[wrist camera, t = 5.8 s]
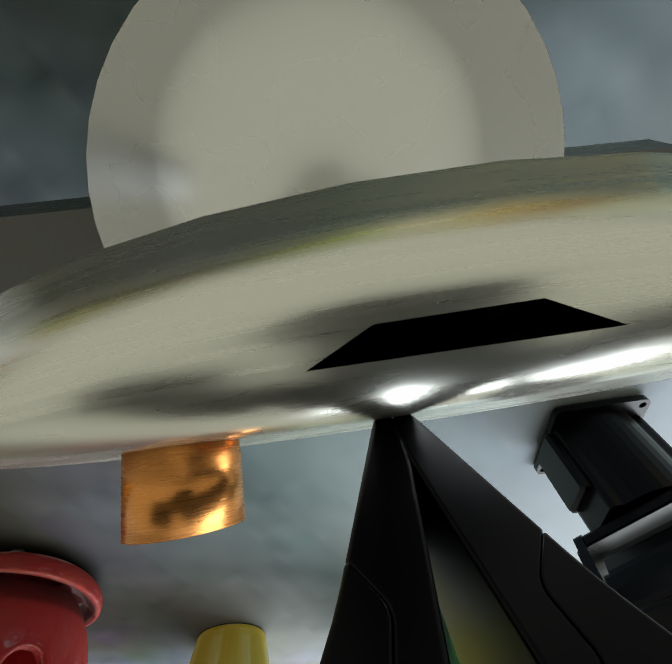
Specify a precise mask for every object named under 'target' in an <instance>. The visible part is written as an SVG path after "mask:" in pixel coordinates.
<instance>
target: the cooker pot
mask: <svg viewBox="0 0 672 664" xmlns="http://www.w3.org/2000/svg"><path fill="white" fill-rule="evenodd" d="M564 146H565V138H564V123H563V109H562V104H561V99H560V94H559V89H558V84H557V79H556V75H555V72H554V69H553V66H552V63H551V60H550V58H549V55H548V52H547V49H546V46H545V43H544V41H543V39H542V37H541V35H540V34H539V32H538V30H537V28H536V26H535V24H534V22H533V20H532V18H531V17H530V15H529V13H528V11H527V9H526V8H525V7H524V5H523V4H522V3H521V1H520V0H139V1H138V2H137V3H136V4H135V6H134V7H133V8H132V10H131V12H130V14H129V15H128V17H127V19H126V20H125V22H124V24H123V25H122V27H121V29H120V30H119V32H118V34H117V36H116V37H115V39H114V41H113V42H112V45H111V47H110V50H109V52H108V55H107V57H106V60H105V62H104V65H103V68H102V70H101V73H100V75H99V78H98V80H97V85H96V89H95V93H94V98H93V102H92V107H91V111H90V116H89V124H88V137H87V151H86V160H87V175H88V190H89V195H90V197H83V198H73V199H63V200H54V201H44V202H34V203H25V204H15V205H5V206H0V294H1V293H3V292H4V291H6V290H9V289H11V288H13V287H15V286H17V285H19V284H22V283H24V282H26V281H28V280H30V279H33V278H35V277H37V276H39V275H41V274H44V273H46V272H48V271H50V270H52V269H54V268H57V267H59V266H61V265H63V264H65V263H68V262H70V261H72V260H74V259H76V258H79V257H81V256H83V255H85V254H88V253H91V252H94V251H97V250H100V249H104V248H107V247H110V246H113V245H116V244H119V243H122V242H125V241H128V240H131V239H134V238H137V237H141V236H144V235H147V234H150V233H153V232H156V231H159V230H162V229H165V228H168V227H171V226H175V225H178V224H181V223H184V222H187V221H190V220H193V219H196V218H199V217H202V216H206V215H211V214H215V213H220V212H224V211H228V210H233V209H237V208H241V207H246V206H250V205H255V204H259V203H263V202H268V201H272V200H276V199H281V198H285V197H289V196H294V195H298V194H303V193H307V192H311V191H316V190H320V189H324V188H329V187H333V186H338V185H342V184H346V183H352V182H358V181H365V180H372V179H379V178H386V177H393V176H400V175H406V174H413V173H420V172H427V171H434V170H441V169H447V168H454V167H461V166H468V165H475V164H482V163H488V162H495V161H502V160H516V159H533V158H550V157H567V156H584V155H601V154H618V153H635V152H654V153H672V144H668V143H663V142H659V141H654V140H650V139H646V140H636V141H627V142H617V143H607V144H597V145H588V146H578V147H568V148H564Z"/></svg>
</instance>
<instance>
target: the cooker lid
mask: <svg viewBox="0 0 672 664" xmlns="http://www.w3.org/2000/svg"><path fill="white" fill-rule="evenodd" d="M671 378H672V153H654V152H635V153H618V154H601V155H584V156H567V157H550V158H533V159H516V160H502V161H495V162H488V163H482V164H475V165H468V166H461V167H454V168H447V169H441V170H434V171H427V172H420V173H413V174H406V175H400V176H393V177H386V178H379V179H372V180H365V181H358V182H352V183H346V184H342V185H338V186H333V187H329V188H324V189H320V190H316V191H311V192H307V193H303V194H298V195H294V196H289V197H285V198H281V199H276V200H272V201H268V202H263V203H259V204H255V205H250V206H246V207H241V208H237V209H233V210H228V211H224V212H220V213H215V214H211V215H206V216H202V217H199V218H196V219H193V220H190V221H187V222H184V223H181V224H178V225H175V226H171V227H168V228H165V229H162V230H159V231H156V232H153V233H150V234H147V235H144V236H141V237H137V238H134V239H131V240H128V241H125V242H122V243H119V244H116V245H113V246H110V247H107V248H104V249H100V250H97V251H94V252H91V253H88V254H85V255H83V256H81V257H79V258H76V259H74V260H72V261H70V262H68V263H65V264H63V265H61V266H59V267H57V268H54V269H52V270H50V271H48V272H46V273H44V274H41V275H39V276H37V277H35V278H33V279H30V280H28V281H26V282H24V283H22V284H19V285H17V286H15V287H13V288H11V289H9V290H6V291H4V292H3V293H1V294H0V469H11V468H29V467H44V466H57V465H70V464H82V463H93V462H104V461H114V460H121V543H122V544H126V545H138V544H149V543H157V542H164V541H170V540H176V539H181V538H186V537H191V536H196V535H200V534H204V533H208V532H212V531H216V530H219V529H222V528H226V527H229V526H232V525H234V524H237V523H239V522H241V521H243V520H244V519H245V508H244V494H243V480H242V466H241V453H240V446H247V445H255V444H262V443H270V442H278V441H285V440H293V439H300V438H308V437H315V436H322V435H330V434H337V433H344V432H351V431H358V430H365V429H372V426H373V422H374V420H376V419H383V418H390V417H392V418H393V417H397V416H404V415H413V416H414V417H415V418H416V419H417V420H418V421H425V420H432V419H438V418H445V417H451V416H458V415H464V414H470V413H477V412H483V411H489V410H495V409H501V408H507V407H514V406H520V405H526V404H532V403H537V402H543V401H549V400H555V399H561V398H567V397H572V396H578V395H584V394H590V393H595V392H601V391H606V390H612V389H617V388H623V387H628V386H634V385H639V384H644V383H650V382H655V381H660V380H666V379H671Z"/></svg>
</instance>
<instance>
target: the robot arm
mask: <svg viewBox="0 0 672 664" xmlns="http://www.w3.org/2000/svg"><path fill="white" fill-rule="evenodd" d="M649 405H650V400H649V399H648V398H647V397H646V396H644V395H640V396H633V397H626V398H619V399H612V400H605V401H598V402H591V403H584V404H577V405H570V406H563V407H559V408H557V409H555V410H554V411H553V412H552V414H551V417H550V420H549V423H548V426H547V429H546V432H545V435H544V438H543V441H542V444H541V447H540V450H539V453H538V456H537V459H536V462H535V465H534V468H535V470H536V472H537V473H538V474H546V475H547V477H548V478H549V480H550V482H551V483H552V485H553V486H554V488H555V489H556V491H557V492H558V494H559V495H560V497H561V499H562V500H563V502H564V503H565V505H566V506H567V508H568V509H569V510H570V511H571V512H572V513H578V514H579V515H580V517H581V518H582V520H583V521H584V523H585V524H586V526H587V527H588V529H589V530H590V532H589V533H587V534H586V535H584V536H582V535H580V536H578V537H576V538H574V539H573V541H574V543H575V545H576V547H577V549H578V552H577V553H578V556H579V558H580V560H581V562H582V564H583V565H582V564H581V563H580V562H579V561H578V560H577V559H575V558H574V557H573V556H572V555H571V554H569V553H568V552H567V551H566V550H565V549H564V548H562V547H561V546H560V545H559V544H558V543H557V542H556V541H555V540H553V539H552V538H551V537H550V536H549V535H548V534H547V533H543V534H542V529H541V528H540V527H538V526H537V525H536V524H535V523H534V522H533V521H532V520H531V519H529V518H528V517H527V516H526V515H525V514H524V513H523V512H521V511H520V510H519V509H518V508H517V507H516V506H515V505H514V504H512V503H511V502H510V501H509V500H508V499H507V498H506V497H504V496H503V495H502V494H501V493H500V492H499V491H498V490H497V489H495V488H494V487H493V486H492V485H491V484H490V483H489V482H487V481H486V480H485V479H484V478H483V477H482V476H481V475H480V474H478V473H477V472H476V471H475V470H474V469H473V468H472V467H470V466H469V465H468V464H467V463H466V462H465V461H464V460H463V459H461V458H460V457H459V456H458V455H457V454H456V453H455V452H453V451H452V450H451V449H450V448H449V447H448V446H447V445H446V444H444V443H443V442H442V441H441V440H440V439H439V438H438V437H436V436H435V435H434V434H433V433H432V432H431V431H430V430H429V429H427V428H426V427H425V426H424V425H423V424H422V423H421V422H419V421H418V420H417V419H416V418H415V417H414V416H413V415H404V416H397V417H393V418H392V417H390V418H383V419H376V420H374V422H373V426H372V431H371V436H370V442H369V447H368V452H367V457H366V462H365V467H364V472H363V477H362V482H361V487H360V492H359V497H358V502H357V507H356V512H355V517H354V523H353V528H352V533H351V538H350V543H349V548H348V553H347V558H346V565H345V567H344V572H343V577H342V582H341V587H340V591H339V595H338V600H337V604H336V608H335V613H334V617H333V621H332V625H331V628H330V631H329V635H328V638H327V642H326V645H325V648H324V652H323V655H322V659H321V662H320V664H450V658H449V653H448V648H447V643H446V638H445V633H444V628H443V623H442V617H441V612H442V615H443V618H444V620H445V623H446V626H447V629H448V632H449V634H450V637H451V640H452V643H453V645H454V648H455V651H456V654H457V657H458V659H459V662H460V664H672V447H671V446H670V445H669V444H668V443H667V442H666V441H665V440H664V439H663V438H662V437H661V436H660V435H659V434H658V433H657V432H656V431H655V430H654V429H653V428H651V427H650V426H649V425H648V424H647V423H646V422H645V421H644V420H643V419H642V418H643V417H644V415H645V413H646V411H647V409H648V407H649ZM439 606H440V607H439ZM440 609H441V612H440Z"/></svg>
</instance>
